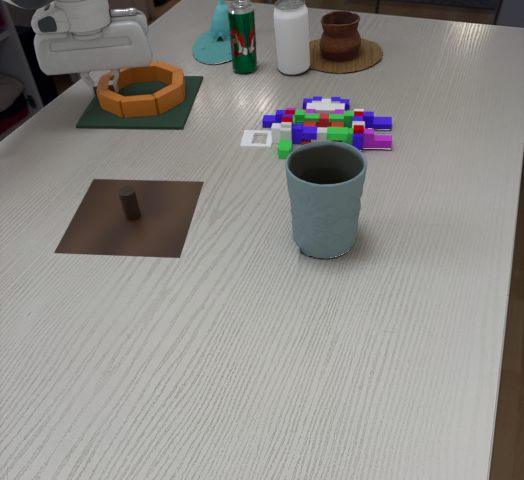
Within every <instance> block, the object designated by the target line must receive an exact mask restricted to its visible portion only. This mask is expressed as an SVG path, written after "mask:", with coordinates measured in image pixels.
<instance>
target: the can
mask: <svg viewBox="0 0 524 480" xmlns="http://www.w3.org/2000/svg"><path fill="white" fill-rule="evenodd" d="M308 10H309V9H308V7H307V5H306V0H276V1H275V2H274V9H273V27H274V28H273V29H274V37H275V38H274V39H275V49H276V57H277V58H276V60H277V68H278V70H279V71H280V72H281V73H282V74H283V75H285V76H298V75H301V74H304V73H306V72H307V71H308V70H309V69H310V68H309V67H310V48H309V42H310V31H309V30H310V29H309V26H310V25H309V11H308Z"/></svg>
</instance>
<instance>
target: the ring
mask: <svg viewBox="0 0 524 480" xmlns="http://www.w3.org/2000/svg"><path fill="white" fill-rule="evenodd" d="M184 73H185V72H184V69H182V68H181V67H178V66H175V65H173V64H170V63H166V62H164V61H159V60H154V61H153V60H152V62H151V63H150V65H149V66H147V67H136V68H125V69H120V73H119V77H118V81H117V84H118V88H119V90H120V89H122V88H124V87H126V86H128V85H130V84H132V83H140V82H151V81H160V82H162V83H165V84H168V85H169V86H167V87H165V88H163V89H161V90H159V91H157V92H155V93H154V94H150V95H138V96H126V97H124V96H122V95H120V94H117V93H115V92H113V91H110V89H109V86H108V83H109V81H112V80H113V79H114V75H112V74H111V71H110V70H109V71H108V72H106V73H104V74H102V75H101V76H99V80H98V82H99V83H98V87H97V91H96V92H97V96H98V99H99V103H100V106H101V108H102V109H104V110H106V111H109V112H111V113H113V114H115V115H117V116H120V117H124V116H125V118H131V117H142V116H154V115H158V113H159V114H162V113H164V112H166V111H168V110H169V109H171V108H173V107H175V106H177V105H178V104H180V103H182V102H184V100H185V79H184V76H185V74H184Z"/></svg>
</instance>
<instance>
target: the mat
mask: <svg viewBox="0 0 524 480" xmlns="http://www.w3.org/2000/svg"><path fill="white" fill-rule="evenodd" d="M184 79H185V100H184V102H182V103H180V104H178V105H177V106H175V107H173V108H171V109H169V110H168V111H166V112H164V113H162V114H159V113H158V115H154V116H142V117H131V118H125V116H124V117H120V116H117V115H115V114H113V113H111V112H109V111H106V110H104V109H102V108H101V106H100V103H99V99H98V96H97V95H93V97H92V99H91V101H90V102H89V104H88V105H87V107H86V108H85V110H84V111H83V113H82V114H81V115H80V117H79V119H78V121H77V122H76V123H75V125H74V127H75V128H76V129H116V130H117V129H118V130H120V129H123V130H124V129H125V130H132V129H133V130H184V128H185V125H186V122H187V120H188V118H189V115H190V113H191V111H192V107H193V106H194V102H195V100H196V98H197V95H198V93H199V90H200V87H201V85H202V83H203V80H204V76H203V75H184ZM167 86H169V85H168V84H165V83H162V82H160V81H151V82H140V83H132V84H130V85H128V86H126V87H124V88H122V89H120V90H119V92H118V93H117V94H120V95H122V96H124V97H126V96H138V95H150V94H154V93H155V92H157V91H159V90H161V89H163V88H165V87H167Z"/></svg>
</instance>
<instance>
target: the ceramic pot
mask: <svg viewBox="0 0 524 480" xmlns="http://www.w3.org/2000/svg"><path fill="white" fill-rule="evenodd" d="M360 21H361V16H360V15H359V14H358V13H356V12H355V13H354V12H351V11H346V10H333V11H330V12H328V13H326V14H324V15H322V16H321V19H320V24H321V28H322V33H321V37H320V38H318V39H313V40H310V41H309V48H310V67H309V68H308V69H311V70H317V71H320V72H326V73H335V74H338V75H340V74H343V73H344V74H347V73H350V72H351V73H353V72H357V71H363V70H366V69H368V68H369V67H374V65H375V64H376V63H378V62H380V61H381V59H382V58H383V54H384V51H383V49H382V47H381V46H380V45H379V44H378V42H375V41H372V40H369V39H366V38H361V34H360V32H359V30H358V29H359V25H360Z"/></svg>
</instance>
